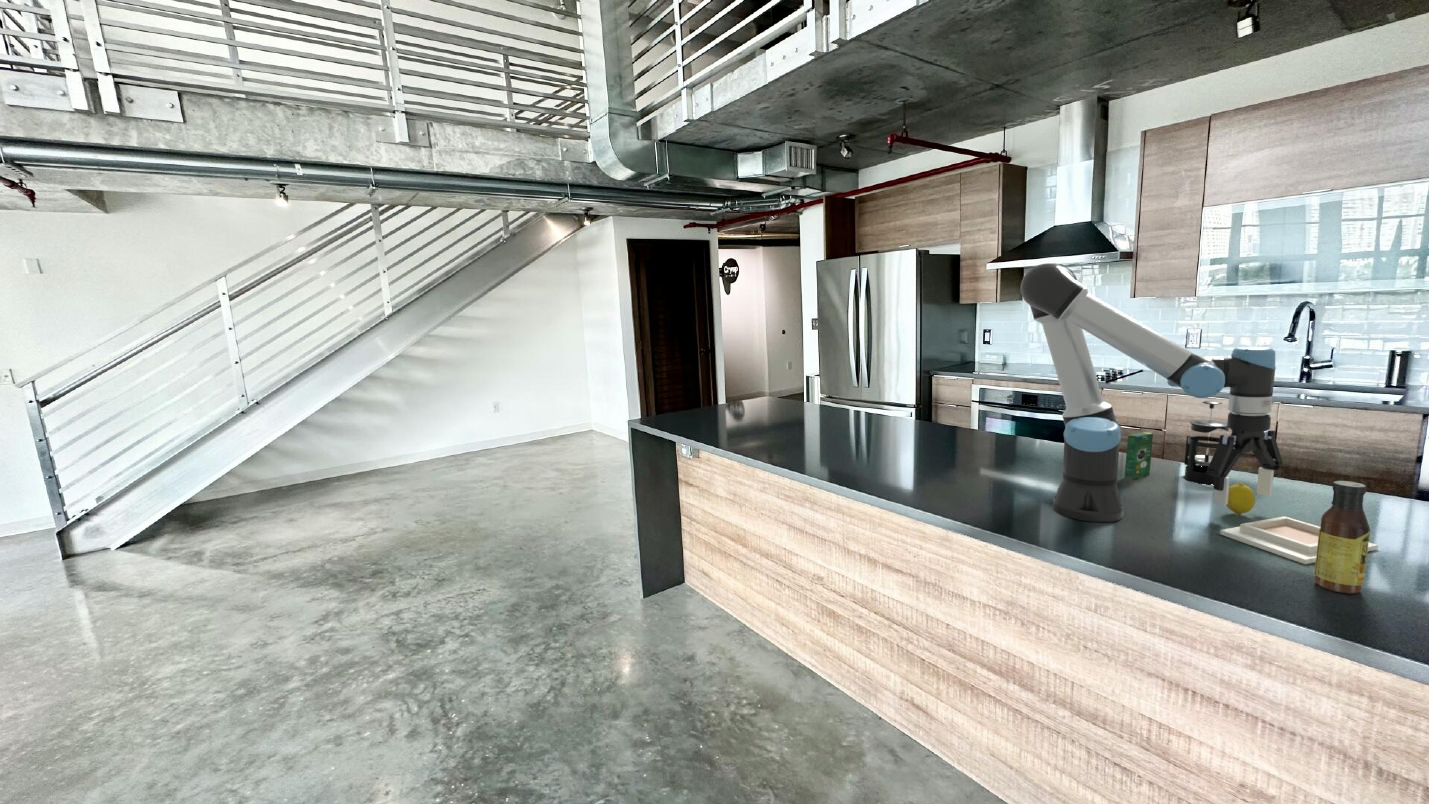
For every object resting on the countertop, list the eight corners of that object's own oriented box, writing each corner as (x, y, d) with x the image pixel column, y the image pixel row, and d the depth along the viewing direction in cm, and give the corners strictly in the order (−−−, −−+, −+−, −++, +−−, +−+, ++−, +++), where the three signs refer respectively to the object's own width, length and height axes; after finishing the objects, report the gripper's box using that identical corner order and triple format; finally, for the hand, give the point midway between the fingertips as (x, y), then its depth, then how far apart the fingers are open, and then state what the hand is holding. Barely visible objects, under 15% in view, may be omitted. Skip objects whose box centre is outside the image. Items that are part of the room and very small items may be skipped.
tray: (1304, 564, 117) (1306, 552, 116) (1220, 534, 132) (1221, 523, 132) (1377, 549, 121) (1379, 538, 121) (1287, 522, 136) (1288, 512, 136)
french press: (1237, 485, 161) (1246, 403, 157) (1204, 487, 161) (1212, 405, 157) (1201, 472, 173) (1208, 396, 169) (1170, 474, 173) (1177, 398, 169)
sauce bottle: (1368, 598, 104) (1384, 492, 100) (1318, 591, 107) (1333, 487, 103) (1353, 582, 109) (1369, 481, 105) (1307, 575, 112) (1320, 477, 109)
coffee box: (1140, 472, 176) (1143, 430, 173) (1150, 475, 173) (1154, 432, 171) (1123, 477, 173) (1126, 434, 170) (1133, 480, 170) (1137, 436, 168)
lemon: (1246, 520, 138) (1250, 488, 137) (1218, 513, 143) (1221, 482, 142) (1257, 515, 141) (1261, 484, 139) (1229, 509, 146) (1232, 478, 144)
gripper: (1224, 421, 131) (1218, 511, 135) (1308, 409, 137) (1299, 496, 140) (1191, 415, 138) (1185, 501, 142) (1271, 404, 144) (1264, 487, 147)
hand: (1242, 498), depth 141 cm, fingers open, 13 cm apart
